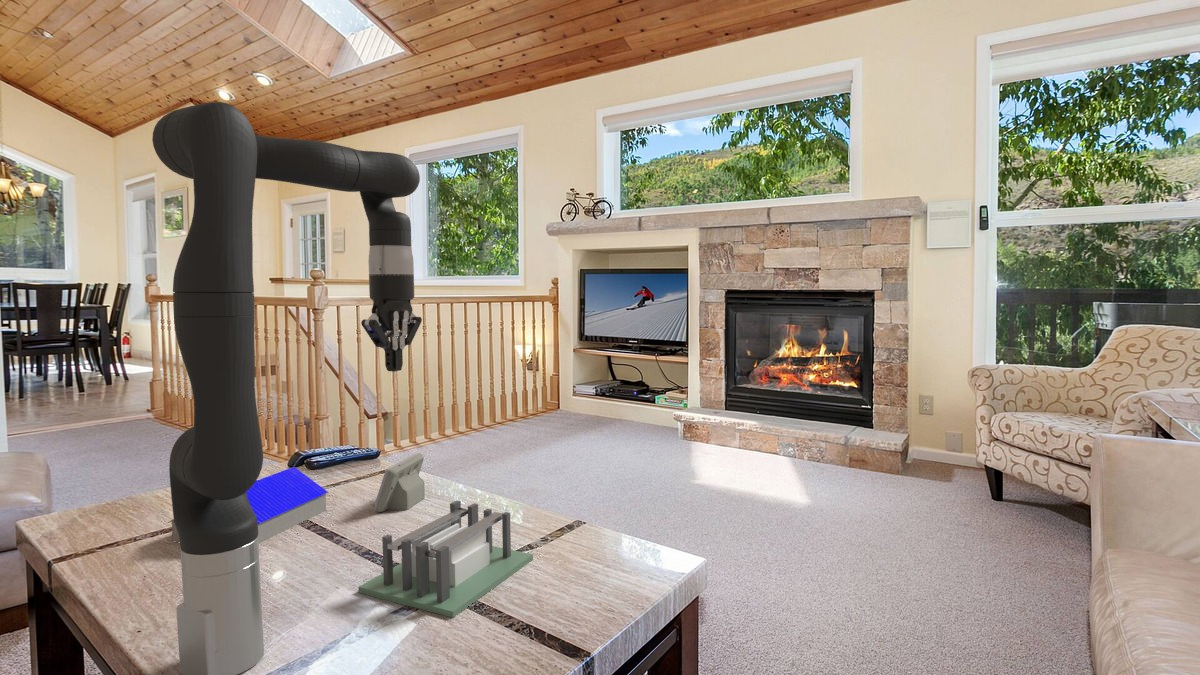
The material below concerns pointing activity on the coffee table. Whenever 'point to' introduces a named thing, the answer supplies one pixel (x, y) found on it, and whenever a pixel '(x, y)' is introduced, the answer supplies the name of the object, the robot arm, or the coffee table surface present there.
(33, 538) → the coffee table surface
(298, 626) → the coffee table surface
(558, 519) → the coffee table surface
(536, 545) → the coffee table surface
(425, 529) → the strap
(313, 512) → the blue ribbed slab
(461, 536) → the strap
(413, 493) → the digital clock
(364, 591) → the heatsink board
